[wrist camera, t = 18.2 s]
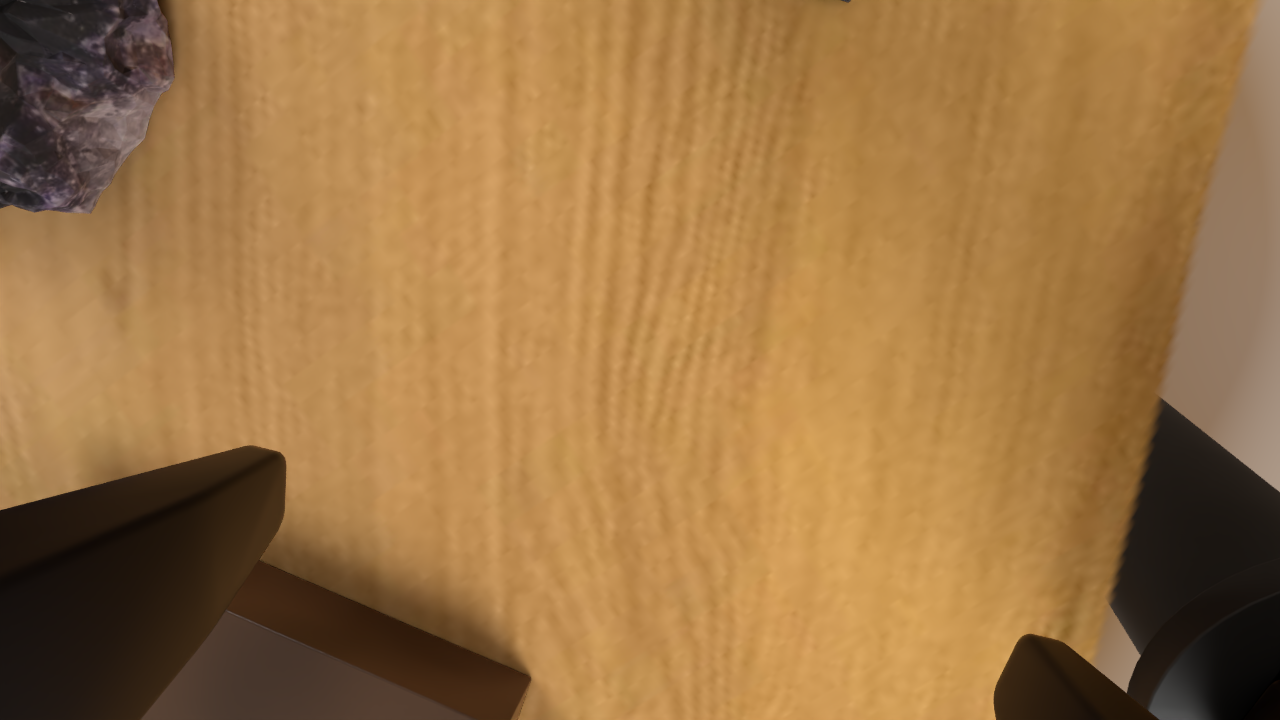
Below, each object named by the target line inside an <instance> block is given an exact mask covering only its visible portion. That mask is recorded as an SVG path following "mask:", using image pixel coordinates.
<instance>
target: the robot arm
mask: <svg viewBox="0 0 1280 720" xmlns="http://www.w3.org/2000/svg"><path fill="white" fill-rule="evenodd" d="M285 488H286V460H285V457H284V456H283V455H282V454H281V453H280V452H277V451H273V450H269V449H265V448H261V447H257V446H250V445H249V446H244V447H240V448H236V449H232V450H229V451H225V452H221V453H217V454H213V455H210V456H206V457H202V458H198V459H194V460H190V461H187V462H183V463H179V464H175V465H171V466H168V467H164V468H160V469H156V470H152V471H148V472H145V473H141V474H137V475H133V476H129V477H126V478H122V479H118V480H114V481H110V482H106V483H103V484H99V485H95V486H91V487H87V488H84V489H80V490H76V491H72V492H68V493H64V494H61V495H57V496H53V497H49V498H45V499H42V500H38V501H34V502H30V503H26V504H22V505H19V506H15V507H11V508H7V509H3V510H0V720H141V719H142V717H143V716H144V715H145V714H146V713H147V711H148V710H149V709H150V708H151V706H152V705H153V704H154V703H155V701H156V700H157V699H158V698H159V697H160V695H161V694H162V693H163V692H164V690H165V689H166V688H167V687H168V686H169V684H170V683H171V682H172V681H173V679H174V678H175V677H176V676H177V674H178V673H179V672H180V671H181V670H182V668H183V667H184V666H185V665H186V663H187V662H188V661H189V660H190V658H191V657H192V656H193V655H194V654H195V652H196V651H197V650H198V649H199V647H200V646H201V645H202V643H203V642H204V641H205V640H206V638H207V637H208V636H209V634H210V633H211V632H212V630H213V629H214V627H215V626H216V624H217V623H218V621H219V620H220V619H221V617H222V616H223V614H224V613H225V611H226V609H227V608H228V606H229V605H230V603H231V602H232V600H233V599H234V597H235V596H236V594H237V593H238V591H239V589H240V588H241V586H242V585H243V583H244V582H245V580H246V579H247V577H248V576H249V574H250V573H251V571H252V570H253V568H254V566H255V565H256V563H257V562H258V560H259V559H260V557H261V556H262V554H263V553H264V551H265V550H266V548H267V546H268V545H269V543H270V542H271V540H272V539H273V537H274V536H275V534H276V533H277V531H278V529H279V527H280V525H281V523H282V520H283V516H284V511H285ZM994 710H995V716H996V720H1159V719H1158V718H1157V717H1155V716H1154V715H1153V714H1152V713H1150V712H1149V711H1148V710H1147V709H1145V708H1144V707H1143V706H1142V705H1140V704H1139V703H1138V702H1137V701H1136V700H1134V699H1133V698H1132V697H1131V696H1129V695H1128V694H1127V693H1125V692H1124V691H1123V690H1122V689H1121V688H1119V687H1118V686H1117V685H1116V684H1115V683H1113V682H1112V681H1111V680H1110V679H1108V678H1107V677H1106V676H1105V675H1103V674H1102V673H1101V672H1100V671H1098V670H1097V669H1096V668H1095V667H1094V666H1092V665H1091V664H1090V663H1089V662H1087V661H1086V660H1085V659H1084V658H1082V657H1081V656H1080V655H1079V654H1077V653H1076V652H1075V651H1074V650H1073V649H1071V648H1070V647H1069V646H1068V645H1066V644H1065V643H1063V642H1061V641H1059V640H1055V639H1051V638H1047V637H1043V636H1038V635H1034V634H1027V635H1024V636H1022V637H1021V638H1020V639H1019V641H1018V642H1017V644H1016V646H1015V648H1014V650H1013V652H1012V654H1011V656H1010V658H1009V660H1008V662H1007V664H1006V666H1005V668H1004V670H1003V672H1002V674H1001V676H1000V678H999V680H998V682H997V685H996V688H995V691H994ZM1242 720H1280V671H1279V673H1278V674H1277V675H1276V677H1275V678H1274V679H1273V680H1272V682H1271V683H1270V684H1269V686H1268V687H1267V688H1266V689H1265V691H1264V692H1263V693H1262V695H1261V696H1260V697H1259V698H1258V700H1257V701H1256V702H1255V704H1254V705H1253V706H1252V707H1251V709H1250V710H1249V711H1248V713H1247V714H1246V715H1245V716H1244V718H1243V719H1242Z"/></svg>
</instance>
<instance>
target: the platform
mask: <svg viewBox="0 0 1280 720" xmlns="http://www.w3.org/2000/svg"><path fill="white" fill-rule="evenodd" d="M530 682H531V677H529V676H527V675H524V674H522V673H520V672H517V671H515V670H513V669H510V668H508V667H506V666H503V665H501V664H499V663H496V662H494V661H492V660H489V659H487V658H485V657H482V656H480V655H478V654H475V653H473V652H471V651H468V650H466V649H464V648H461V647H459V646H457V645H454V644H452V643H450V642H447V641H445V640H443V639H440V638H438V637H436V636H433V635H431V634H429V633H426V632H424V631H421V630H419V629H417V628H414V627H412V626H410V625H407V624H405V623H403V622H400V621H398V620H396V619H393V618H391V617H389V616H386V615H384V614H382V613H379V612H377V611H375V610H372V609H370V608H368V607H365V606H363V605H361V604H358V603H356V602H354V601H351V600H349V599H347V598H344V597H342V596H340V595H337V594H335V593H333V592H330V591H328V590H326V589H323V588H321V587H319V586H316V585H314V584H312V583H309V582H307V581H305V580H302V579H300V578H298V577H295V576H293V575H291V574H288V573H286V572H284V571H281V570H279V569H277V568H274V567H272V566H270V565H267V564H265V563H263V562H260V561H258V562H257V563H256V565H255V566H254V568H253V570H252V571H251V573H250V574H249V576H248V577H247V579H246V580H245V582H244V583H243V585H242V586H241V588H240V589H239V591H238V593H237V594H236V596H235V597H234V599H233V600H232V602H231V603H230V605H229V606H228V608H227V609H226V611H225V613H224V614H223V616H222V617H221V619H220V620H219V621H218V623H217V624H216V626H215V627H214V629H213V630H212V632H211V633H210V634H209V636H208V637H207V638H206V640H205V641H204V642H203V643H202V645H201V646H200V647H199V649H198V650H197V651H196V652H195V654H194V655H193V656H192V657H191V658H190V660H189V661H188V662H187V663H186V665H185V666H184V667H183V668H182V670H181V671H180V672H179V673H178V674H177V676H176V677H175V678H174V679H173V681H172V682H171V683H170V684H169V686H168V687H167V688H166V689H165V690H164V692H163V693H162V694H161V695H160V697H159V698H158V699H157V700H156V701H155V703H154V704H153V705H152V706H151V708H150V709H149V710H148V711H147V713H146V714H145V715H144V716H143V717H142V719H141V720H518V718H519V715H520V712H521V709H522V706H523V703H524V700H525V697H526V694H527V691H528V688H529V685H530Z"/></svg>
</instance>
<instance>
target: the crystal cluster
mask: <svg viewBox="0 0 1280 720" xmlns="http://www.w3.org/2000/svg"><path fill="white" fill-rule="evenodd" d="M174 78H175V77H174V64H173V56H172V47H171V40H170V36H169V32H168V21H167V19H166V18H165V16H164V15H163V14H162V13H161V10H160V7H159V5H158V0H0V208H3V207H6V206H9V205H14V206H15V207H18V208H21V209H25V210H28V211H32V212H39V211H44V210H53V211H60V212H66V213H91V212H92V211H93V209H94V207H95V205H96V203H97V201H98V199H99V197H100V194H101V193H102V192H103V190H104V189H106V188H107V187H108V186H109V185H110V184H111V182H112V180H113V177H114V175H115V173H116V172H117V171H118V169H119V168H120V166H121V165H122V164H123V162H124V161H125V159H126V158H127V157H128V156H129V154H130V153H131V152H132V151H133V149H134V148H136V147H137V146H138V145H139V144H140V143H141V142H142V141H143V140H144V139H145V135H146V131H147V127H148V123H149V119H150V116H151V113H152V111H153V108H154V105H155V104H156V102H157V100H158V99H159V97H160V95H161V94H162V93H163V92H165V91H168V90H169V88H170V86H171V84H172V82H173V80H174Z"/></svg>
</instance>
